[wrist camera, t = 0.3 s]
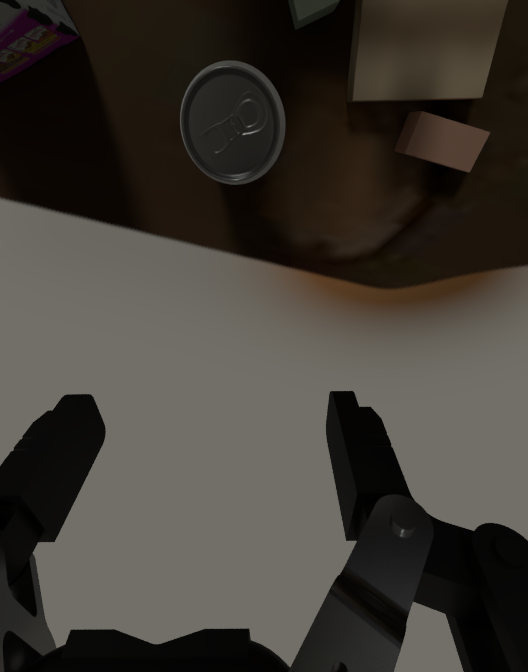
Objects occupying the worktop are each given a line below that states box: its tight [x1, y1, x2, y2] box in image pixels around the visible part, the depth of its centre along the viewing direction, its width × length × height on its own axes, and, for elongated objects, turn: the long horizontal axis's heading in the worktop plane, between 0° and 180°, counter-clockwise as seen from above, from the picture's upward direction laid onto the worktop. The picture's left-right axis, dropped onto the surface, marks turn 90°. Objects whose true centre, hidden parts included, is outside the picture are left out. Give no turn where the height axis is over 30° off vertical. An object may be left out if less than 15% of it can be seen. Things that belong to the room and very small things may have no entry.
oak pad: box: [346, 0, 508, 103], centre depth 24 cm, size 10×10×2 cm
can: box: [180, 61, 285, 185], centre depth 24 cm, size 6×6×12 cm
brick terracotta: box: [394, 111, 490, 172], centre depth 29 cm, size 6×3×3 cm, turn 76°
